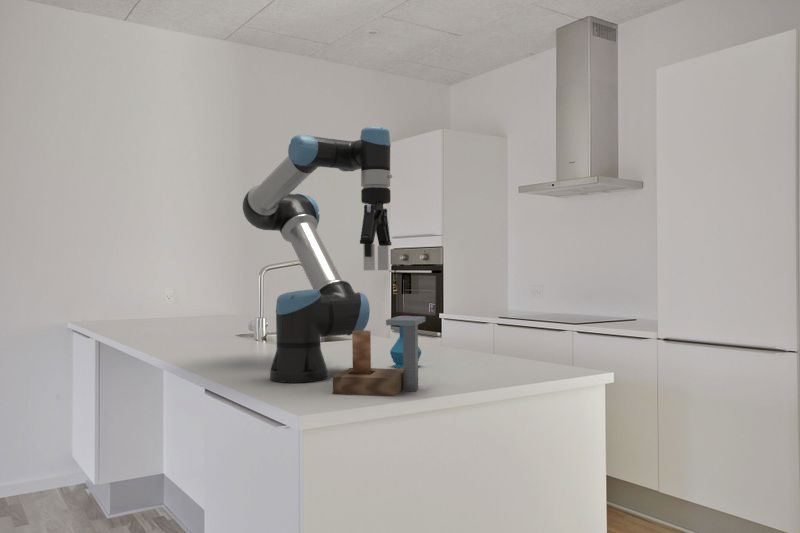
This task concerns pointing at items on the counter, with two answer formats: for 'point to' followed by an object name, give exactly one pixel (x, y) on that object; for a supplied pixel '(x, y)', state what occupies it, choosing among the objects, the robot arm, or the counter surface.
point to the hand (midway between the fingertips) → (376, 270)
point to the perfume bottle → (400, 351)
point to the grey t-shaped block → (409, 349)
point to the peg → (361, 352)
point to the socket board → (369, 382)
